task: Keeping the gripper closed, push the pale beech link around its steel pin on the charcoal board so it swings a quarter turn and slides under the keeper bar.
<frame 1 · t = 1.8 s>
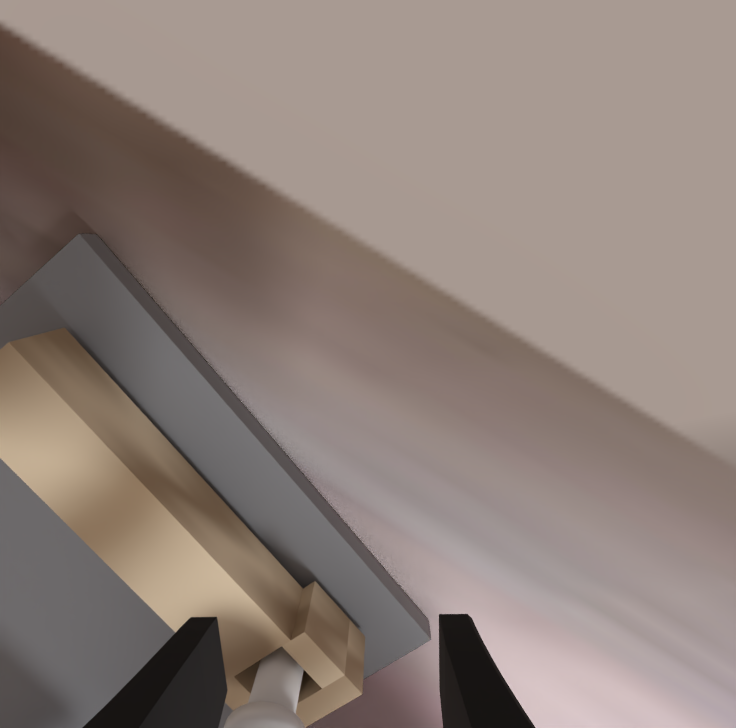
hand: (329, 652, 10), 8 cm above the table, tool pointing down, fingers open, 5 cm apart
link: (177, 539, 17), point 3 cm above the table, hinge at 0.0°
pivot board: (67, 599, 21), on the table
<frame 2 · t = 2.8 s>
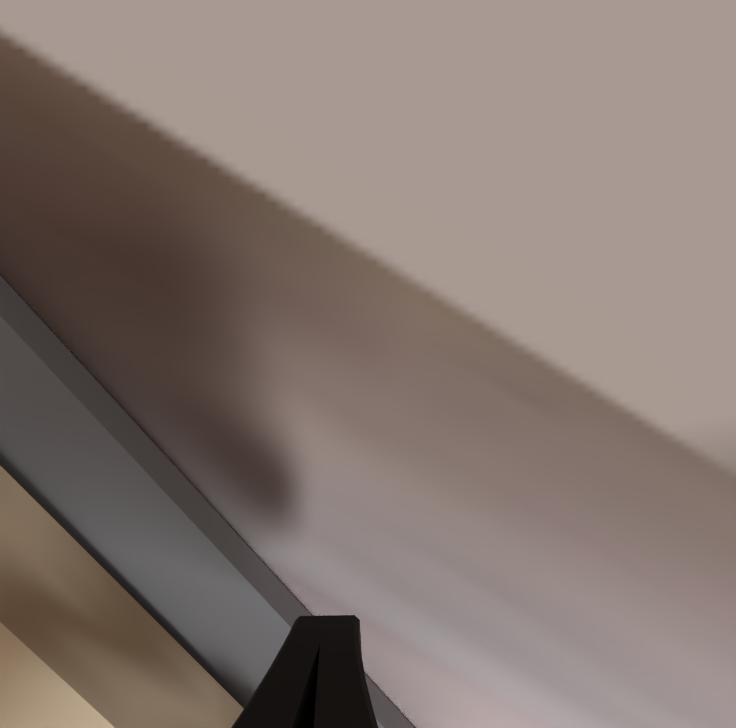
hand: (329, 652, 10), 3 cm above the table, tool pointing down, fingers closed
link: (78, 684, 11), point 3 cm above the table, hinge at 0.0°
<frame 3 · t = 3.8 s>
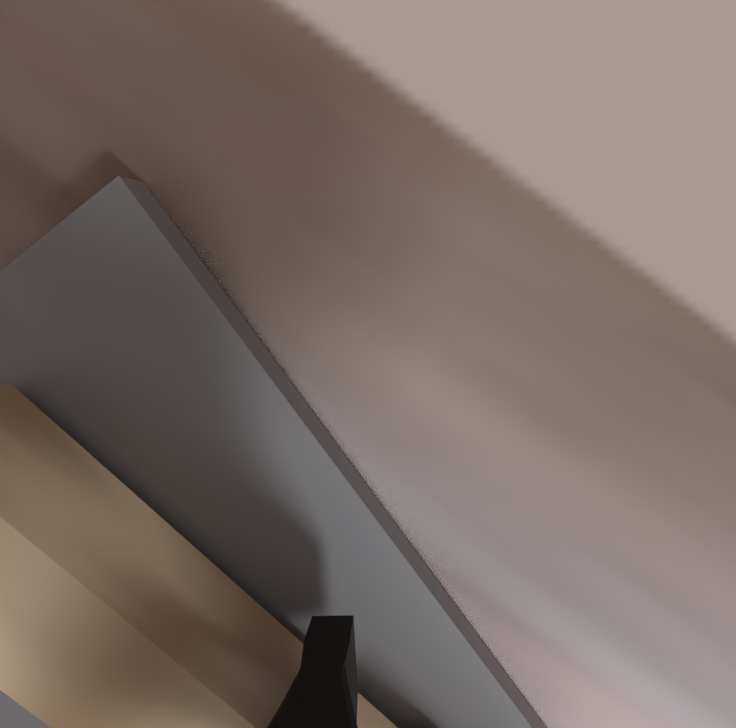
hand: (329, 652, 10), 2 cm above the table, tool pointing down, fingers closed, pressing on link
link: (219, 703, 10), point 3 cm above the table, hinge at 8.5°, touching gripper
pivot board: (57, 722, 14), on the table
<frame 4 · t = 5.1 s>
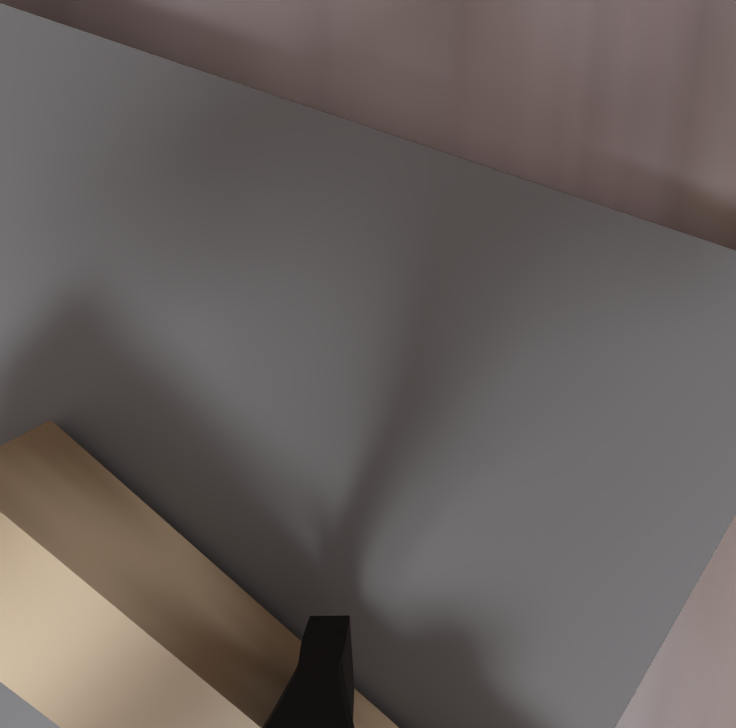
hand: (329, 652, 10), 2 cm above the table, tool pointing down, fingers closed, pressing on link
link: (251, 726, 11), point 3 cm above the table, hinge at 60.7°, touching gripper
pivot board: (202, 515, 12), on the table
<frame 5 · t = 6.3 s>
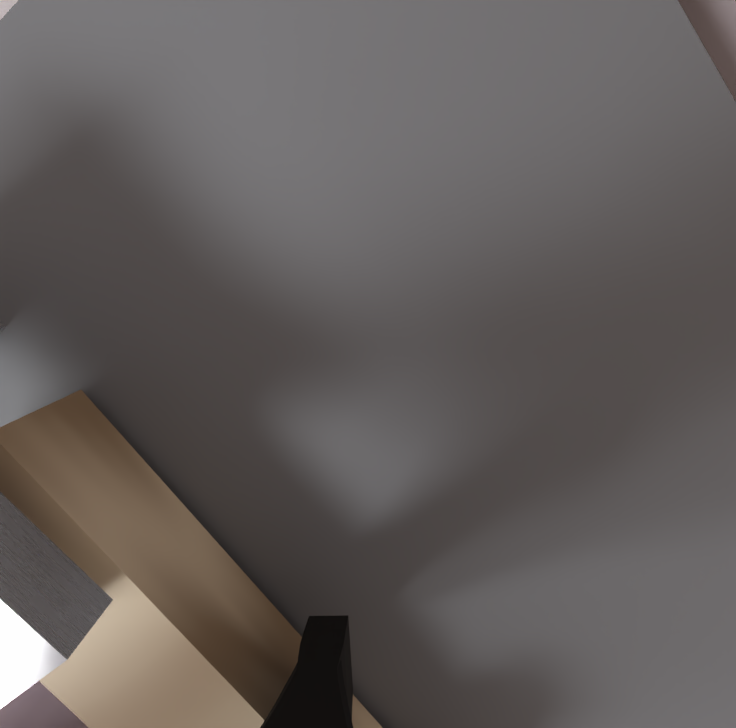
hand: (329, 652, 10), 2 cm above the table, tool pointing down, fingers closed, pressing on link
link: (246, 717, 11), point 3 cm above the table, hinge at 87.7°, touching gripper
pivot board: (388, 460, 12), on the table
keeper: (54, 420, 12), resting on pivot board
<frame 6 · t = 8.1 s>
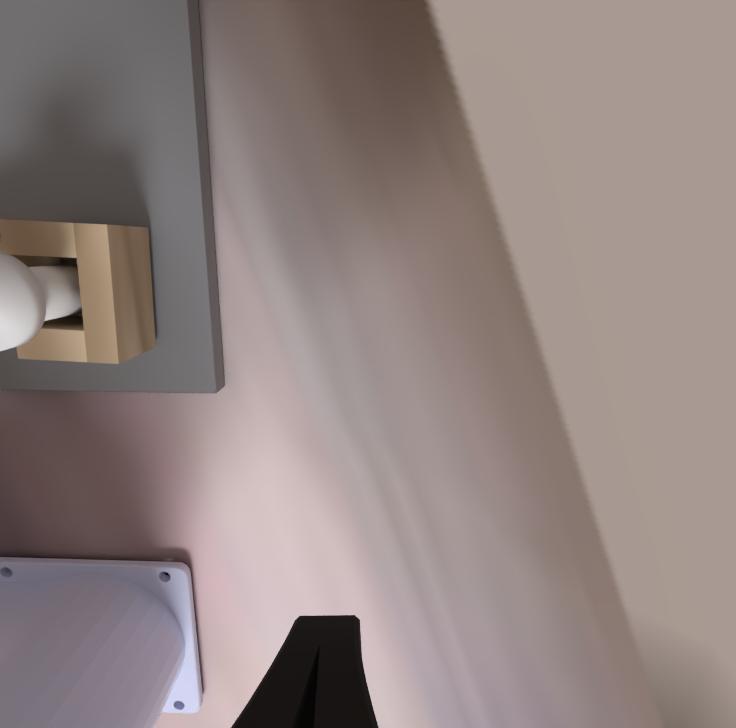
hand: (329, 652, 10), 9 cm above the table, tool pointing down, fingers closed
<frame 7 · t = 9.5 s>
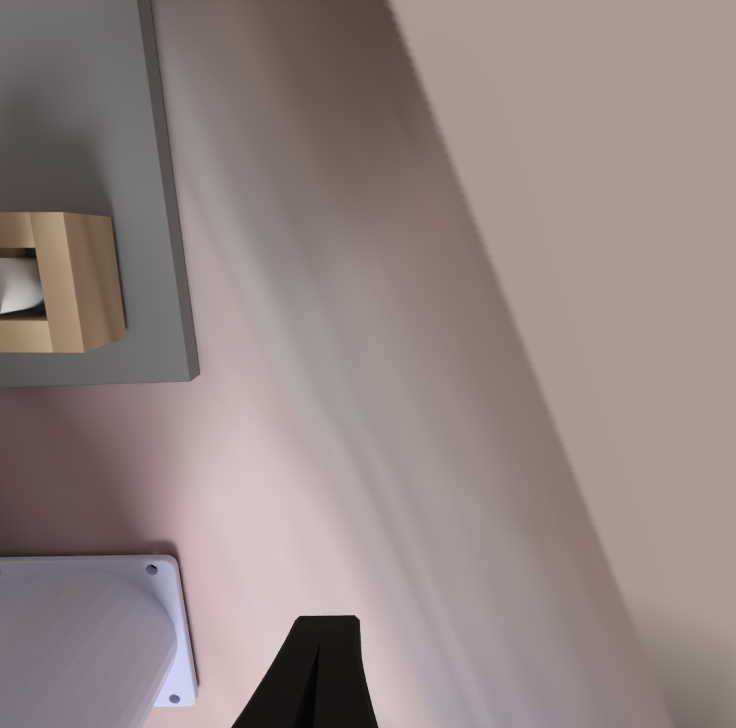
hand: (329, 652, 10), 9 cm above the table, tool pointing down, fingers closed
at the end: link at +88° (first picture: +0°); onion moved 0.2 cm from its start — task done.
